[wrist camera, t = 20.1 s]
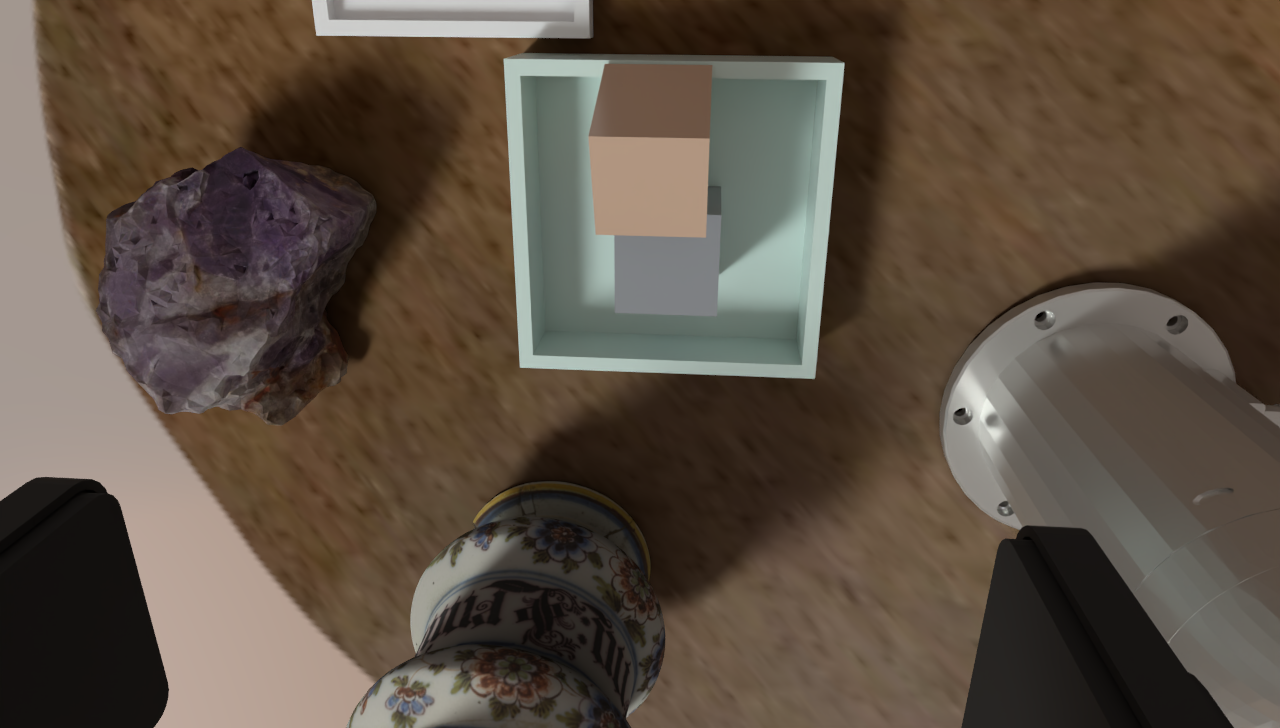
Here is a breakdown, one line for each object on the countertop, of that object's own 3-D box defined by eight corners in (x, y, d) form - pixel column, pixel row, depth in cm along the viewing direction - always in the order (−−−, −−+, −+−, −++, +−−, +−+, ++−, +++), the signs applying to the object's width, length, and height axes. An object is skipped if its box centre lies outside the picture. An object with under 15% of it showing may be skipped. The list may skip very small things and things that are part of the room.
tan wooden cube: (712, 65, 32) (709, 138, 28) (708, 159, 35) (705, 237, 31) (604, 63, 32) (588, 136, 29) (609, 157, 35) (595, 234, 31)
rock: (425, 207, 40) (220, 102, 39) (375, 230, 32) (111, 97, 31) (329, 418, 43) (133, 326, 42) (259, 489, 35) (12, 378, 33)
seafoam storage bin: (832, 56, 35) (844, 63, 32) (806, 347, 40) (814, 378, 37) (523, 53, 36) (503, 59, 33) (535, 337, 41) (520, 367, 38)
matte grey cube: (721, 186, 37) (721, 215, 32) (716, 276, 38) (717, 316, 34) (627, 184, 37) (614, 212, 32) (627, 273, 39) (614, 312, 34)
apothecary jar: (455, 440, 44) (296, 712, 27) (691, 484, 43) (675, 784, 27) (438, 627, 48) (294, 955, 32) (649, 668, 48) (615, 1017, 32)
